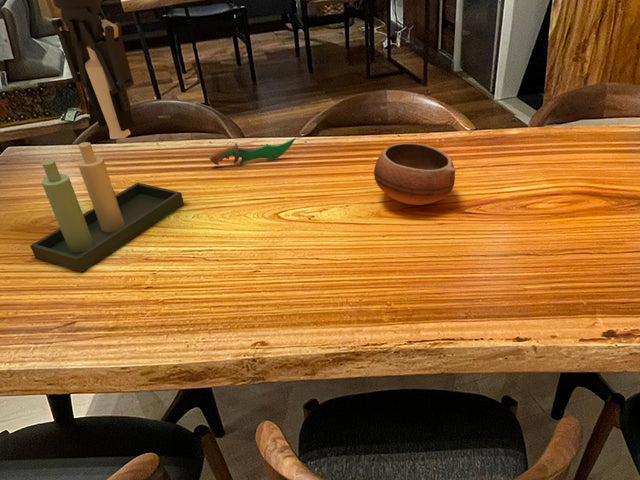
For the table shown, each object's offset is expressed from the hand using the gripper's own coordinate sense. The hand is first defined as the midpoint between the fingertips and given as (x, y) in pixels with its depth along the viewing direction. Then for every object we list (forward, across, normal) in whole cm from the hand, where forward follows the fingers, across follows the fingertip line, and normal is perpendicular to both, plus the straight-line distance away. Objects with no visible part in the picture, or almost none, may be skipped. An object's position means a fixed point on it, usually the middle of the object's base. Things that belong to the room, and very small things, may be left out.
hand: (116, 125), depth 113 cm
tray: (+17, 0, +8) cm, 19 cm away
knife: (+17, -8, -28) cm, 34 cm away
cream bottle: (+16, 0, +8) cm, 18 cm away
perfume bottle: (+2, 0, 0) cm, 2 cm away
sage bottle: (+16, 0, +16) cm, 23 cm away
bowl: (+17, -48, -26) cm, 57 cm away
